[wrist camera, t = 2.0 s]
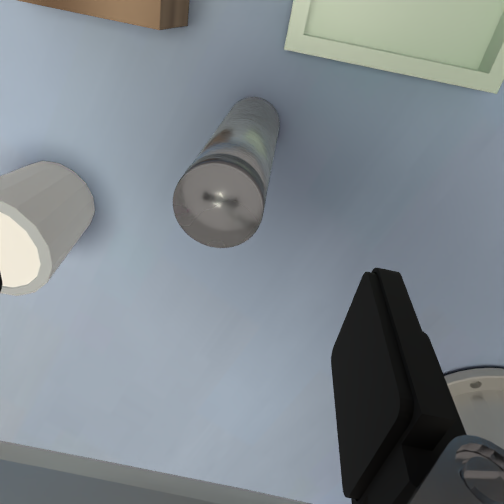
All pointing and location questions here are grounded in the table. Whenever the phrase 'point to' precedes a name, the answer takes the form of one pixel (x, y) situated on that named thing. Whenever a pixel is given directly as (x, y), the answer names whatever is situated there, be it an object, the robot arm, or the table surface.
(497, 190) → the table surface
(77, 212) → the white cylinder
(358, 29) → the tray
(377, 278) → the robot arm
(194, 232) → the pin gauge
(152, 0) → the bore block
